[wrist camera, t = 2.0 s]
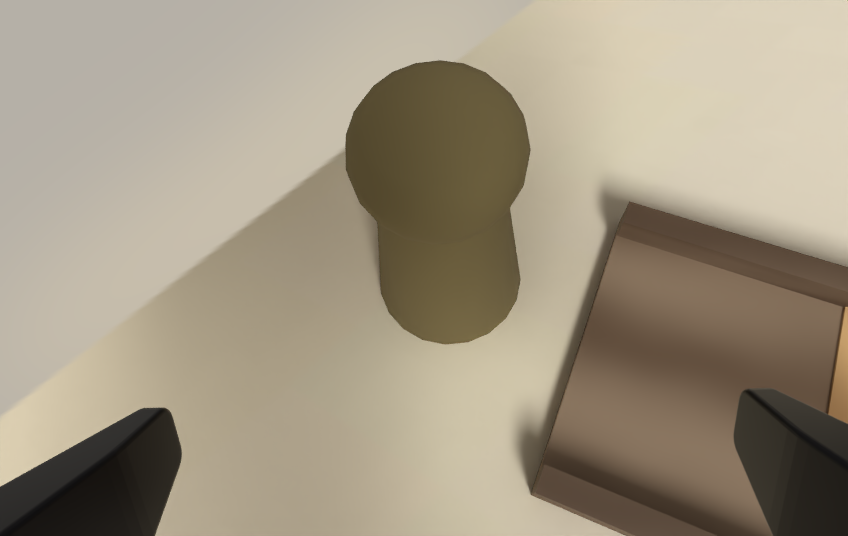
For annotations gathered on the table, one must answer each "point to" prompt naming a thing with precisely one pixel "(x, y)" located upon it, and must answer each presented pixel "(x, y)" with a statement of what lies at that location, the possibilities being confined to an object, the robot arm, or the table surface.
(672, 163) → the table surface
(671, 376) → the channel board
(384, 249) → the olive pawn shaped piece
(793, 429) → the robot arm
